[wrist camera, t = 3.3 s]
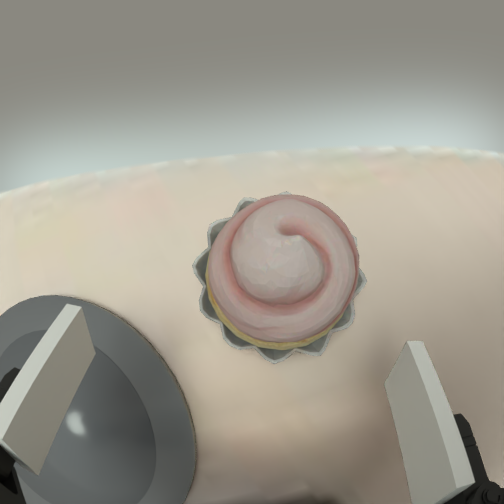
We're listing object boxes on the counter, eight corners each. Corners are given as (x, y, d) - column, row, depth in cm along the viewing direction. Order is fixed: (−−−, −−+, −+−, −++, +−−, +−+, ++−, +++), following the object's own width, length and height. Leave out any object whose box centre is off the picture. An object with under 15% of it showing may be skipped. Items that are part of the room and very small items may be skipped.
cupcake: (365, 269, 22) (439, 220, 12) (291, 383, 20) (329, 418, 10) (256, 196, 23) (263, 105, 14) (176, 302, 21) (123, 271, 12)
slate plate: (240, 370, 20) (240, 372, 19) (152, 567, 15) (148, 575, 14) (18, 257, 22) (10, 253, 20) (-30, 445, 17) (-38, 448, 15)
